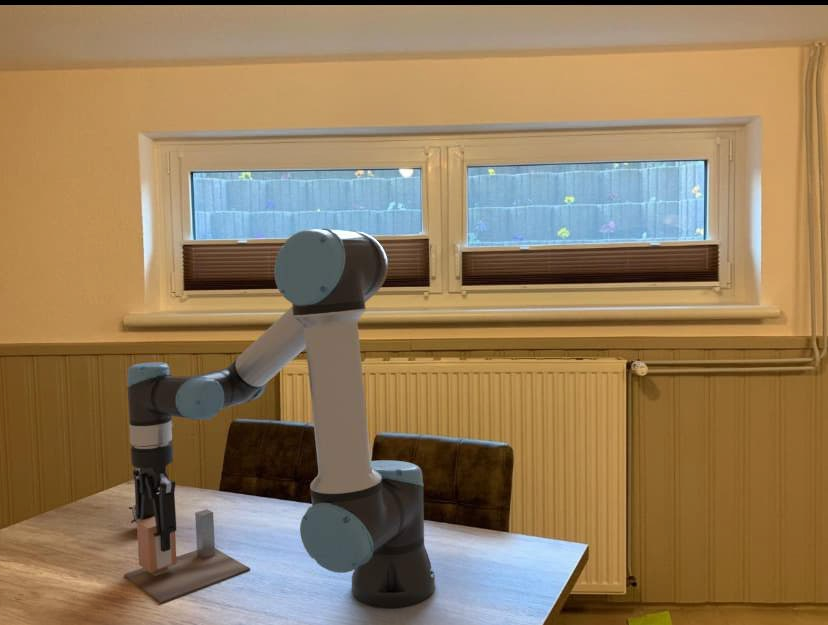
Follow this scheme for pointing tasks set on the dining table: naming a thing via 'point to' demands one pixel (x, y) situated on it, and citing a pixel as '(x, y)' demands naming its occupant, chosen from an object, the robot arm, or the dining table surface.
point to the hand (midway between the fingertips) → (157, 561)
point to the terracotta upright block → (151, 544)
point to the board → (187, 575)
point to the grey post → (205, 534)
